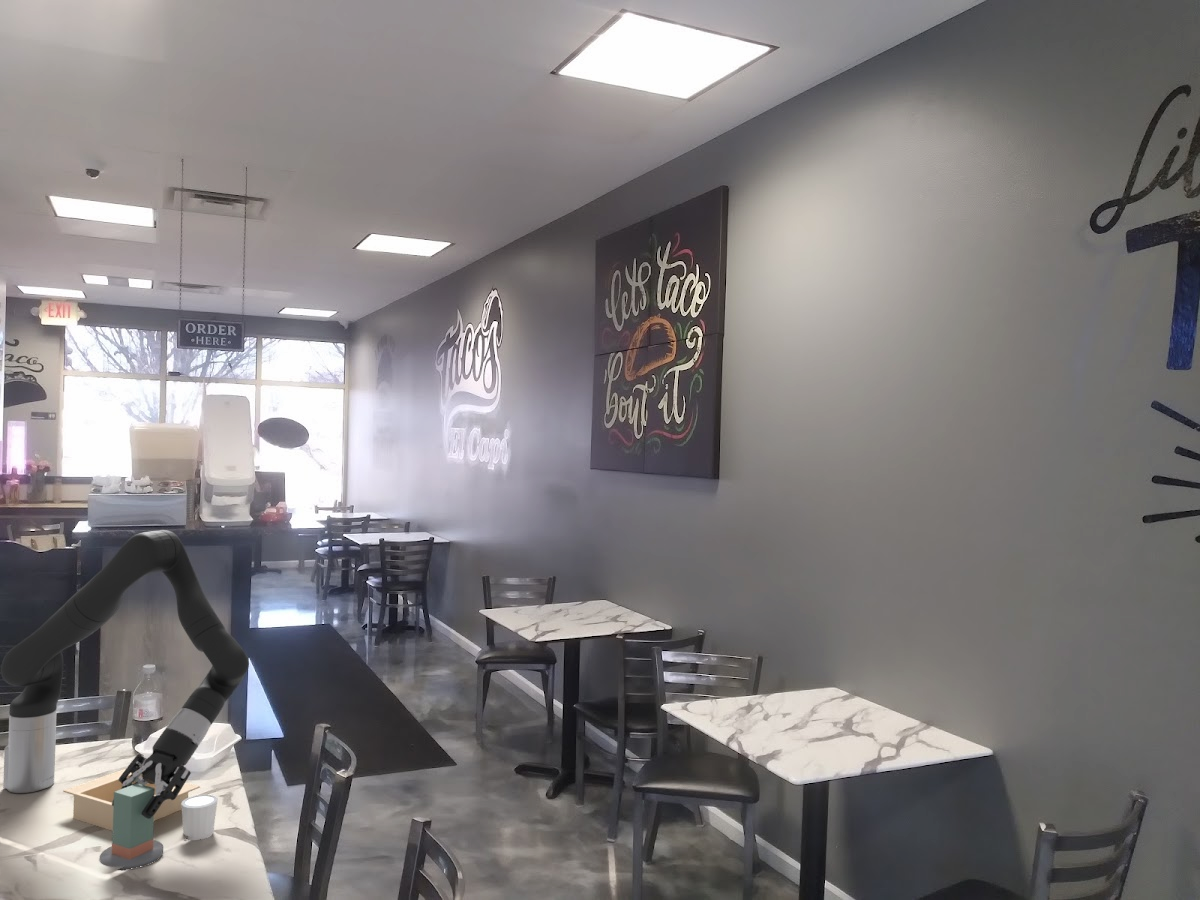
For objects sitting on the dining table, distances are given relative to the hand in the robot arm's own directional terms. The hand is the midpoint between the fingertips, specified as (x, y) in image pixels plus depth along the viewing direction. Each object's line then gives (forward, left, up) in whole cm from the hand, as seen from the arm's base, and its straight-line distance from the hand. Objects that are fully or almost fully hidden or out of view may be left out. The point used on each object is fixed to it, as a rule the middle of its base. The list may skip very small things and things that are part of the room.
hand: (130, 812), depth 170 cm
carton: (-13, +17, -9) cm, 23 cm away
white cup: (+6, +13, -9) cm, 17 cm away
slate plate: (0, +1, -9) cm, 9 cm away
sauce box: (0, +1, -8) cm, 8 cm away
